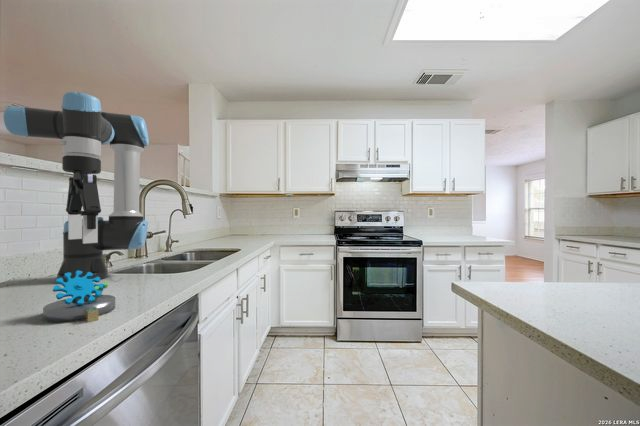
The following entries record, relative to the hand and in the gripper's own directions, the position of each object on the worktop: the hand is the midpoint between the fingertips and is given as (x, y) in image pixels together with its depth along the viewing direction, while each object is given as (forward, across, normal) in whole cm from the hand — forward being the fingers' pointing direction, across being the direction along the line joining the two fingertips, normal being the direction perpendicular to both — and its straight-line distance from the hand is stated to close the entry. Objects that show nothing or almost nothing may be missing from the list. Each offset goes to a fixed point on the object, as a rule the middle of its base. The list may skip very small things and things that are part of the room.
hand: (82, 241), depth 74 cm
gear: (+16, 0, 0) cm, 16 cm away
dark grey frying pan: (+18, +2, 0) cm, 18 cm away
